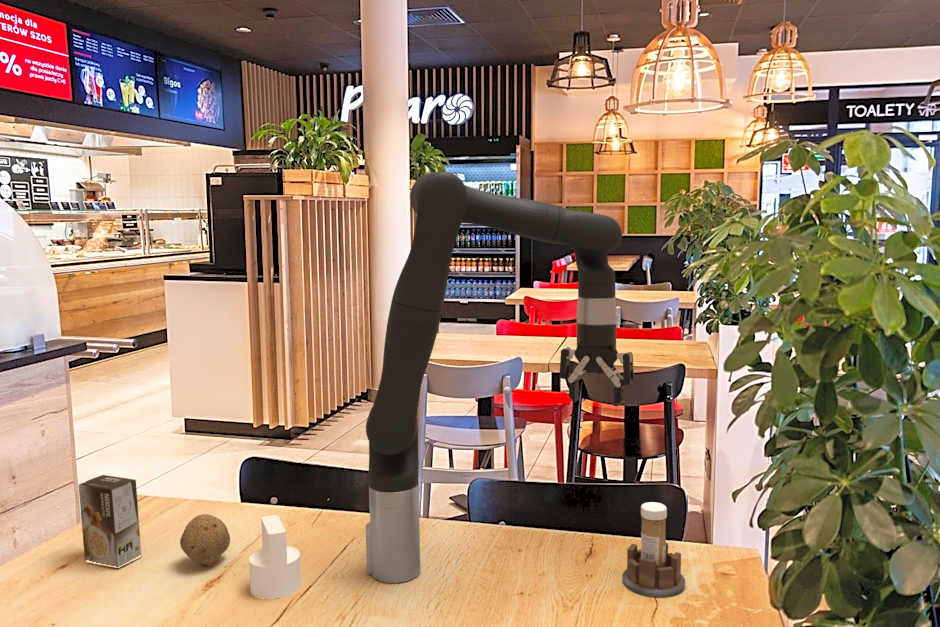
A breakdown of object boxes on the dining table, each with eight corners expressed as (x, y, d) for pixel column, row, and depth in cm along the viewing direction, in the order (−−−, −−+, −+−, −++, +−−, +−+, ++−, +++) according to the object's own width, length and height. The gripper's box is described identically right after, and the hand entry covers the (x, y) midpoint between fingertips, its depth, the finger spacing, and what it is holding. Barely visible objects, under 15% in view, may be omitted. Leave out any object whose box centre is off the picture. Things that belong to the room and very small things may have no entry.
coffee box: (143, 557, 155) (138, 479, 153) (118, 570, 149) (112, 489, 147) (108, 550, 158) (103, 473, 156) (82, 563, 153) (76, 484, 151)
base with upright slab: (247, 582, 144) (244, 519, 142) (296, 573, 147) (293, 511, 146) (254, 603, 135) (251, 537, 134) (306, 593, 139) (303, 529, 137)
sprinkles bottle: (671, 578, 141) (672, 506, 139) (653, 585, 138) (654, 512, 136) (652, 569, 144) (653, 499, 143) (634, 575, 142) (635, 504, 140)
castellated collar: (614, 589, 139) (614, 556, 138) (633, 564, 148) (633, 534, 148) (676, 602, 134) (677, 569, 133) (691, 576, 143) (692, 545, 142)
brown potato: (171, 571, 148) (167, 521, 147) (199, 552, 157) (196, 504, 155) (212, 577, 146) (209, 526, 145) (239, 557, 154) (236, 508, 153)
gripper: (554, 321, 149) (554, 403, 151) (626, 324, 143) (625, 411, 144) (568, 316, 156) (568, 395, 158) (638, 320, 149) (637, 403, 151)
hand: (595, 403), depth 151 cm, fingers open, 8 cm apart
